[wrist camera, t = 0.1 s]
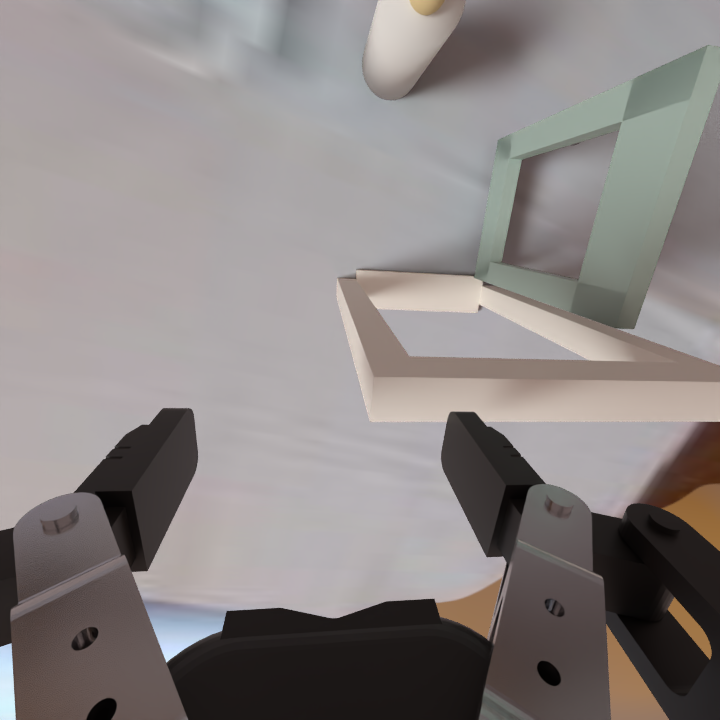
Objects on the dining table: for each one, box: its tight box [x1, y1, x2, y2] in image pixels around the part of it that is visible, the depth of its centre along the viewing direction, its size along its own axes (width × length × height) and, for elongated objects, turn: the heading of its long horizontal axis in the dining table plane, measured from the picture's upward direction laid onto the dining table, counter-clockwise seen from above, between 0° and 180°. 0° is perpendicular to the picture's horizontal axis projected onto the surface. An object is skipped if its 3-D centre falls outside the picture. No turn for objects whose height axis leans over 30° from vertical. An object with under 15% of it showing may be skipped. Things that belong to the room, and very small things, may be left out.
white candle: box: [362, 0, 466, 100], centre depth 26 cm, size 5×5×13 cm
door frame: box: [336, 269, 720, 422], centre depth 28 cm, size 4×18×26 cm, turn 86°
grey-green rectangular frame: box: [474, 45, 720, 329], centre depth 28 cm, size 13×3×20 cm, turn 176°
